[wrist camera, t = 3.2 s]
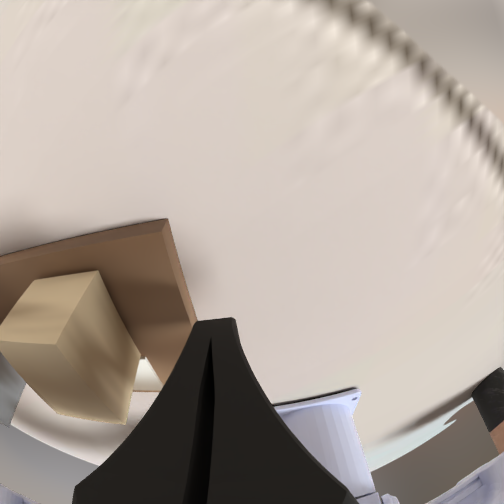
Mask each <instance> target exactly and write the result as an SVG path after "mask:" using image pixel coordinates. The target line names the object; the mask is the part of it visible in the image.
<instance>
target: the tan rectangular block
mask: <svg viewBox="0 0 504 504" xmlns="http://www.w3.org/2000/svg"><path fill="white" fill-rule="evenodd" d="M0 352H1V353H2V354H3V356H4V357H5V358H6V359H7V361H8V362H9V363H10V364H11V366H12V367H13V368H14V369H15V370H16V372H17V373H18V374H19V375H20V376H21V377H22V378H23V380H24V381H25V382H26V383H27V384H28V385H29V386H30V387H31V388H32V389H33V390H34V391H35V392H36V393H37V394H38V395H39V396H40V397H41V398H42V399H43V400H44V401H45V402H46V403H47V404H48V405H49V406H50V407H51V408H52V409H53V410H54V411H55V412H56V413H58V414H61V415H66V416H70V417H76V418H81V419H87V420H93V421H99V422H106V423H114V424H123V425H126V421H127V416H128V411H129V406H130V401H131V396H132V391H133V387H134V382H135V378H136V373H137V369H138V365H139V361H140V357H141V354H140V352H139V350H138V349H137V347H136V345H135V344H134V342H133V340H132V338H131V336H130V335H129V333H128V331H127V329H126V327H125V325H124V323H123V322H122V320H121V318H120V316H119V314H118V312H117V310H116V308H115V306H114V304H113V302H112V300H111V298H110V295H109V293H108V291H107V289H106V287H105V285H104V282H103V280H102V278H101V276H100V273H99V271H98V270H97V271H90V272H84V273H77V274H70V275H64V276H57V277H50V278H44V279H37V280H34V281H33V282H32V283H31V284H30V286H29V287H28V288H27V290H26V291H25V292H24V293H23V295H22V296H21V297H20V299H19V300H18V301H17V303H16V304H15V305H14V307H13V308H12V309H11V311H10V312H9V314H8V315H7V317H6V318H5V319H4V321H3V322H2V324H1V325H0Z"/></svg>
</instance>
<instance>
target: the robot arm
mask: <svg viewBox="0 0 504 504" xmlns="http://www.w3.org/2000/svg"><path fill="white" fill-rule="evenodd" d="M360 396H361V390H360V389H354V390H350V391H346V392H343V393H339V394H335V395H331V396H327V397H322V398H318V399H313V400H308V401H303V402H298V403H293V404H287V405H281V406H275V407H273V406H272V404H271V403H270V401H269V399H268V398H267V396H266V395H265V393H264V391H263V390H262V388H261V386H260V384H259V383H258V381H257V379H256V377H255V375H254V373H253V371H252V369H251V367H250V365H249V363H248V361H247V359H246V356H245V354H244V352H243V349H242V346H241V343H240V339H239V334H238V329H237V325H236V320H235V319H234V318H232V317H229V318H221V319H212V320H203V321H196V322H195V323H194V325H193V328H192V330H191V332H190V335H189V337H188V339H187V342H186V344H185V346H184V348H183V350H182V352H181V354H180V356H179V358H178V360H177V362H176V364H175V366H174V368H173V370H172V372H171V374H170V376H169V377H168V379H167V381H166V383H165V384H164V386H163V388H162V389H161V391H160V393H159V395H158V396H157V398H156V399H155V401H154V402H153V404H152V405H151V407H150V408H149V410H148V411H147V413H146V414H145V415H144V417H143V418H142V420H141V421H140V422H139V423H138V425H137V426H136V427H135V429H134V430H133V431H132V432H131V434H130V435H129V436H128V437H127V438H126V440H125V441H124V442H123V443H122V444H121V445H120V446H119V447H118V448H117V449H116V450H115V451H114V452H113V453H112V454H111V456H110V457H109V458H108V459H107V460H106V461H105V462H104V463H103V464H101V465H100V466H99V467H98V468H97V469H96V470H95V471H93V472H92V473H91V474H90V475H89V476H87V477H86V478H85V479H84V480H82V481H81V482H80V483H79V484H78V485H76V486H75V489H74V494H73V501H72V504H381V501H380V498H379V494H378V492H377V493H375V492H376V490H375V487H374V483H373V480H372V477H371V473H370V470H369V467H368V464H367V460H366V457H365V454H364V451H363V448H362V445H361V442H360V439H359V435H358V432H357V429H356V426H355V423H354V420H353V418H352V415H353V413H354V410H355V408H356V406H357V403H358V401H359V398H360ZM373 493H374V494H373ZM371 494H372V495H371ZM368 495H369V496H368ZM381 499H382V503H383V504H400V503H399V501H398V499H397V497H395V496H390V495H389V494H385V495H383V496H381ZM0 504H39V503H37V502H35V501H34V500H32V499H30V498H28V497H26V496H23V495H21V494H19V493H17V492H15V491H13V490H11V489H9V488H7V487H6V486H4V485H3V484H1V483H0ZM426 504H504V452H502V453H501V454H500V455H499V456H497V457H496V458H494V459H493V460H491V461H490V462H488V463H486V464H484V465H483V466H481V467H479V468H478V469H476V470H475V471H473V472H472V473H471V474H470V475H468V476H466V477H465V478H463V479H462V480H461V481H459V482H458V483H457V485H456V486H455V487H453V488H452V489H450V490H448V491H447V492H445V493H443V494H442V495H440V496H438V497H437V498H435V499H433V500H431V501H430V502H428V503H426Z"/></svg>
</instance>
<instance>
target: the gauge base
mask: <svg viewBox="0 0 504 504" xmlns="http://www.w3.org/2000/svg"><path fill="white" fill-rule="evenodd" d="M97 270H98V271H99V273H100V276H101V278H102V280H103V282H104V285H105V287H106V289H107V291H108V293H109V295H110V298H111V300H112V302H113V304H114V306H115V308H116V310H117V312H118V314H119V316H120V318H121V320H122V322H123V323H124V325H125V327H126V329H127V331H128V333H129V335H130V336H131V338H132V340H133V342H134V344H135V345H136V347H137V349H138V350H139V352H140V354H141V357H140V361H139V365H138V369H137V373H136V378H135V382H134V387H133V391H132V392H160V391H161V389H162V388H163V386H164V384H165V383H166V381H167V379H168V377H169V376H170V374H171V372H172V370H173V368H174V366H175V364H176V362H177V360H178V358H179V356H180V354H181V352H182V350H183V348H184V346H185V344H186V342H187V339H188V337H189V335H190V332H191V330H192V328H193V325H194V323H195V322H196V321H198V320H197V317H196V314H195V311H194V308H193V305H192V302H191V298H190V295H189V292H188V289H187V286H186V282H185V279H184V276H183V272H182V269H181V265H180V262H179V258H178V255H177V251H176V247H175V244H174V240H173V236H172V232H171V229H170V225H169V221H168V219H163V220H157V221H152V222H147V223H141V224H136V225H131V226H126V227H121V228H116V229H111V230H106V231H102V232H97V233H92V234H88V235H83V236H79V237H74V238H70V239H66V240H62V241H57V242H53V243H49V244H45V245H41V246H37V247H33V248H29V249H26V250H22V251H18V252H14V253H11V254H7V255H4V256H0V325H1V324H2V322H3V321H4V319H5V318H6V317H7V315H8V314H9V312H10V311H11V309H12V308H13V307H14V305H15V304H16V303H17V301H18V300H19V299H20V297H21V296H22V295H23V293H24V292H25V291H26V290H27V288H28V287H29V286H30V284H31V283H32V282H33V281H34V280H37V279H44V278H50V277H57V276H64V275H70V274H77V273H84V272H90V271H97ZM25 385H26V382H25V381H24V380H23V378H22V377H21V376H20V375H19V374H18V373H17V372H16V370H15V369H14V368H13V367H12V366H11V364H10V363H9V362H8V361H7V359H6V358H5V357H4V356H3V354H2V353H1V352H0V423H1V424H3V425H5V426H7V427H9V426H10V423H11V420H12V417H13V415H14V412H15V409H16V407H17V404H18V402H19V399H20V397H21V394H22V392H23V389H24V387H25Z"/></svg>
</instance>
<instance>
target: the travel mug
mask: <svg viewBox="0 0 504 504" xmlns="http://www.w3.org/2000/svg"><path fill="white" fill-rule="evenodd" d="M472 397H473V400H474V401H475V404H476V405H477V407H478V410H479V412H480V414H481V416H482V418H483V420H484V422H485V424H486V426H487V429H488V431H489V432H490V435H491V437H492V439H493V441H494V443H495V446H496V447H497V450H498V452H499V454H501V453H502V452H504V370H503V369H502V368H498V369H497V370H495V371H494V372H493V373H492V374H490V375H489V376H488V377H487V378H486V379H485V380H484V381H483V382H482V383H481V384H480V385H479V386H478V387H477V388H476V389H475V390H474V392H473V393H472Z"/></svg>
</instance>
